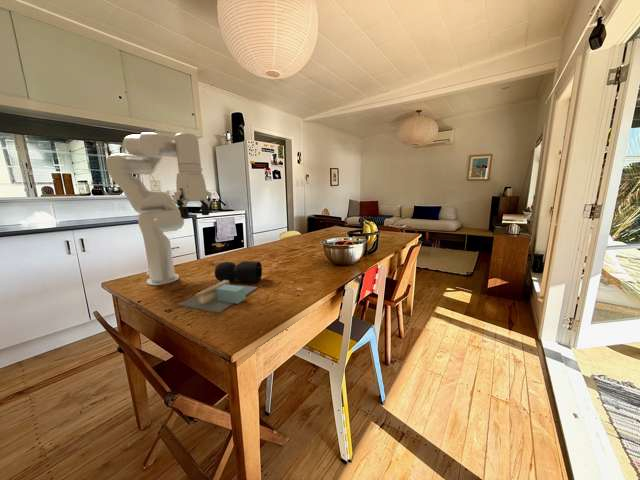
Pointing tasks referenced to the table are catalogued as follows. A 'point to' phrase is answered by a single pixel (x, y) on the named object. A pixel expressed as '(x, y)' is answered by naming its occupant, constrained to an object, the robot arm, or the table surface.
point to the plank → (210, 293)
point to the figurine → (239, 271)
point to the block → (231, 293)
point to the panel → (214, 302)
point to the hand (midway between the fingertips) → (195, 216)
